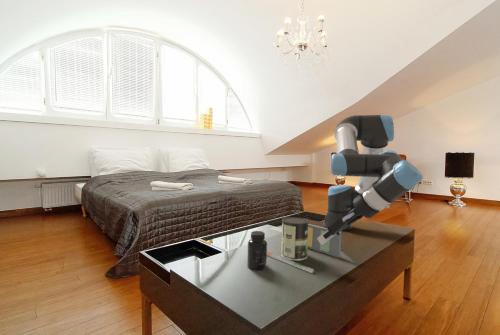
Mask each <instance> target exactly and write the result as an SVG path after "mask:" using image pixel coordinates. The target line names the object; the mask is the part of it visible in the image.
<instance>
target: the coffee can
mask: <svg viewBox="0 0 500 335" xmlns="http://www.w3.org/2000/svg"><path fill="white" fill-rule="evenodd" d="M281 222H282V223H281V225H282V226H281V249H280V250H281V253H280V257H283V258H285V259H288V260H291V261H293V262H298V261H299V262H300V261H304V260H305V261H306V260H307V259H308V248H307V247H308V224H310V222H309V219H306V218H303V217H296V216H295V217H293V216H292V217H291V216H288V217H283V218H282V219H281Z"/></svg>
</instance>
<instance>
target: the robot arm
mask: <svg viewBox="0 0 500 335" xmlns="http://www.w3.org/2000/svg"><path fill="white" fill-rule="evenodd" d="M394 126H395V124H394V119H393V116H391V115H389V114H381V113H380V114H361V115H358V114H356V115H351V116H348V117H346V118H344V119H342V120H340V122H339V123H337V125H336V126H335V128H334V133H333V135H334V138H335V140H336V153H333V154H332V155H331V161H330V162H331V163H330V173H331V174H332V175H333V176H341V177H359V179H358V180H359V181H358V183H356V185H355V187H352V186H351V185H349V184H339V185H336V184H335V185H331V186H329V188H328V190H327V191H328V192H327V210H326V215H325V217H324V220H323V227H324V228H327V229H328V230H327V231H325V232H324V233H323V234H322V235H320V236H319V237H318V238H317V240H318V241H319V243H320V244H321V245H323V244H324V243H326V242H327V241H328V240H330V239H331V238H332V237H333V236H335V235H336V234H337V235H340V233H339V232H341V233H342V232H343V231H350V230H352V229H353V224H355V223H356V222H357V221H359V220H361V219H363V218H367V219H372V218H374V217H375V216H376V215H378V214H379V213H380V211H383V210H384V209H389V208H390V204H392V203H393V202H395V201H396V200H398V199H400V197H402V196H404V195H405V194H406V193H408V192H409V191H411V190H413V189H414V188H415V186H417V185H418V184H419V183H420V182H421V181H423V175H422V173H421V171H419V169H418V168H417V167H416V166H414V164H412V163H411V162H410V161H407V160H405V159H403V157H401V156H400V154H398V153H397V151H395V150H391V149H388V150H384V149H385V148H386V147H387V146H388V145H389V142H392V141H394V138H395V127H394ZM358 141H359V142H360V145H361V146H362V147H363V148H362V153H360V152H359V147H358Z"/></svg>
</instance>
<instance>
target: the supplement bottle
mask: <svg viewBox="0 0 500 335" xmlns="http://www.w3.org/2000/svg"><path fill="white" fill-rule="evenodd" d="M265 238H266V236H265V232H264V231H262V230H261V231H260V230H253V231H251V233H250V239H249V240H248V242H247V258H246V259H247V263H246V264H247V267H248V268H249V269H250V270H253V271H262V270H265V269H266V268H267V264H268V259H267V258H268V256H267V252H268V242H267V240H265Z"/></svg>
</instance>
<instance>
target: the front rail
mask: <svg viewBox="0 0 500 335" xmlns="http://www.w3.org/2000/svg"><path fill="white" fill-rule="evenodd" d="M267 257H270V258H273V259H275V260H277V261H280V262H283V263H284V264H287V265H289V266H292V267H295V268H296V269H297V268H298V269H300V270H303V271H304V272H307V273H309V274H314V273H315V269H314V268H311V267H308V266H306V265H304V264H301V263H298V262H297V261H293V260H288V259H285V258H283V257H282V256H281V255H279V254H274V253H272V252H269V251H267Z"/></svg>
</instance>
